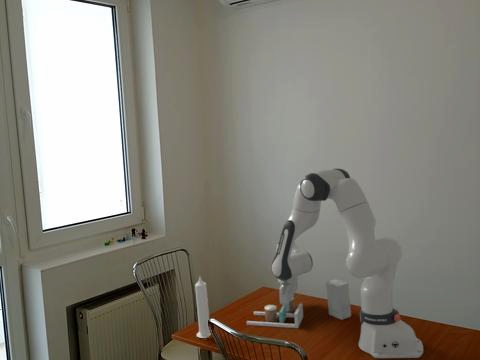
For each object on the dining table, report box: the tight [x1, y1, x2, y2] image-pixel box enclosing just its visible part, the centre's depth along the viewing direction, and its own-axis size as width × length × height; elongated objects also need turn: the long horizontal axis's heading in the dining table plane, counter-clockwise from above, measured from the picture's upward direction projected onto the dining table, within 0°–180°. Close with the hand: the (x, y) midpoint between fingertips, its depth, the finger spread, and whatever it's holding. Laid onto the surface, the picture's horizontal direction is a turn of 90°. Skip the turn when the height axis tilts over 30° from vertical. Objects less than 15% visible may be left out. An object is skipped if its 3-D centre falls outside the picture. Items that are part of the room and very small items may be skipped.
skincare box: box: [325, 278, 352, 321], centre depth 203 cm, size 8×6×15 cm
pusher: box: [278, 304, 289, 323], centre depth 202 cm, size 3×8×5 cm, turn 162°
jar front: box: [264, 304, 278, 323], centre depth 204 cm, size 5×5×6 cm
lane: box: [246, 302, 304, 329], centre depth 204 cm, size 22×11×6 cm, turn 72°
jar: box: [282, 296, 296, 314], centre depth 213 cm, size 5×5×6 cm
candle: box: [194, 276, 211, 339], centre depth 193 cm, size 7×7×25 cm
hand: (289, 306), depth 213 cm, fingers open, 8 cm apart
